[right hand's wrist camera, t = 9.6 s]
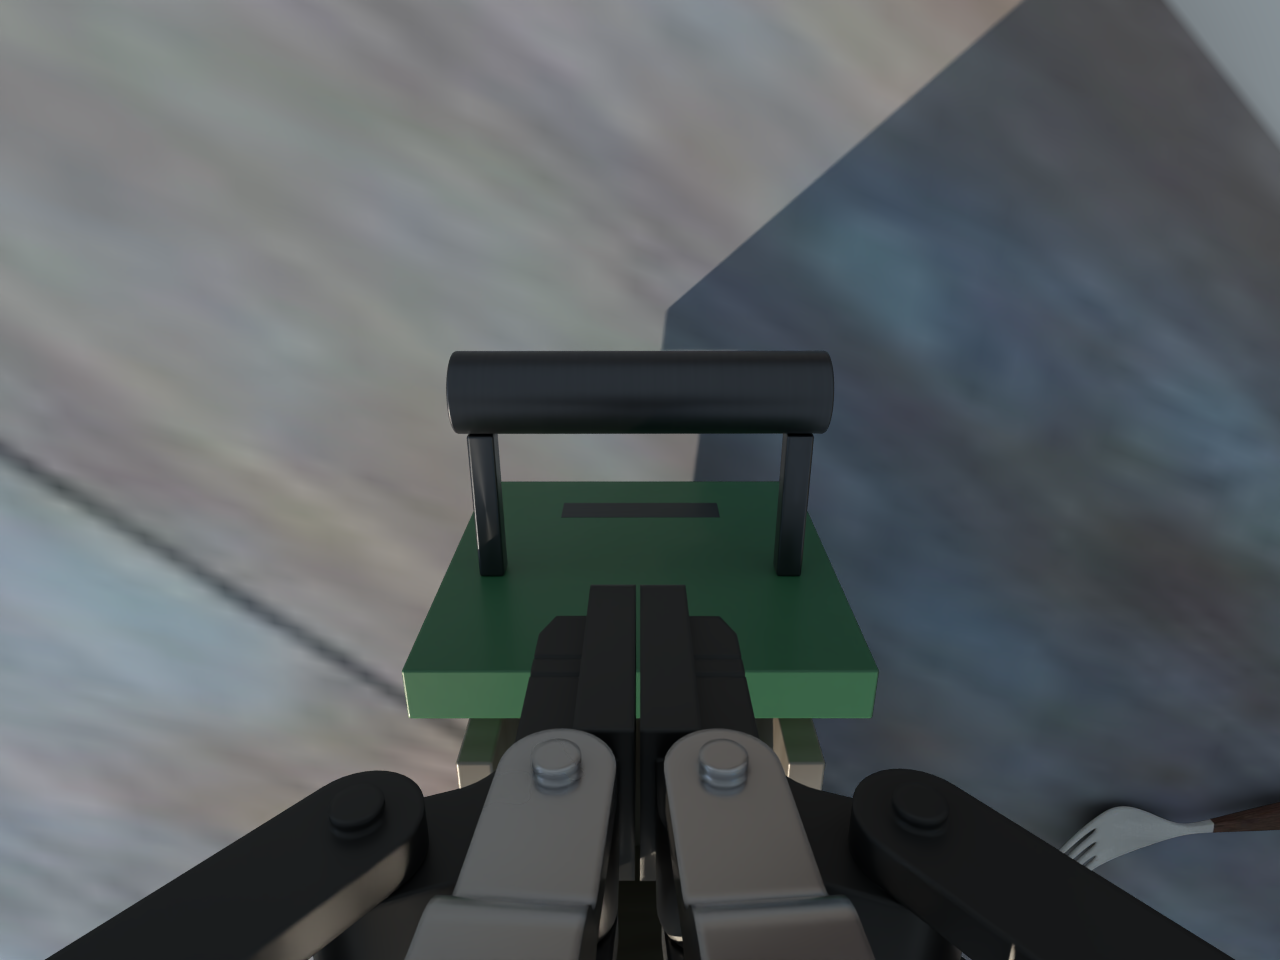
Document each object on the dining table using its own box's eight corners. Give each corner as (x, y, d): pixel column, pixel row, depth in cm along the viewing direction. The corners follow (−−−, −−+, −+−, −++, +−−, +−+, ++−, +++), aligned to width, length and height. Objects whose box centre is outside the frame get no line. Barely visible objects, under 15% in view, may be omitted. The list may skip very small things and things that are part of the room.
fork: (1438, 807, 31) (1490, 847, 29) (1028, 866, 32) (1052, 908, 30) (1450, 754, 30) (1503, 792, 28) (1027, 817, 31) (1052, 858, 29)
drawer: (471, 303, 22) (361, 409, 13) (809, 303, 22) (918, 409, 13) (517, 836, 30) (467, 1116, 21) (764, 835, 30) (814, 1116, 21)
